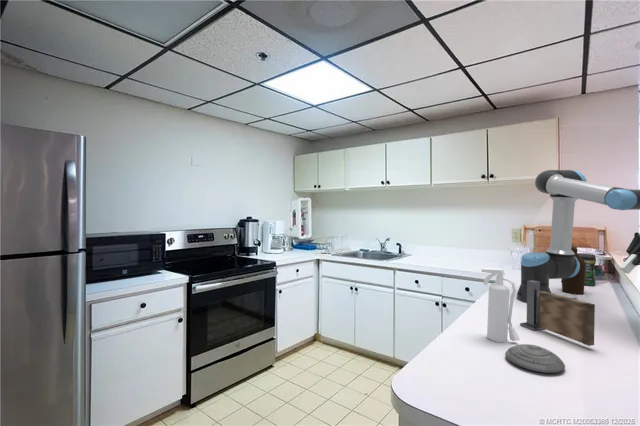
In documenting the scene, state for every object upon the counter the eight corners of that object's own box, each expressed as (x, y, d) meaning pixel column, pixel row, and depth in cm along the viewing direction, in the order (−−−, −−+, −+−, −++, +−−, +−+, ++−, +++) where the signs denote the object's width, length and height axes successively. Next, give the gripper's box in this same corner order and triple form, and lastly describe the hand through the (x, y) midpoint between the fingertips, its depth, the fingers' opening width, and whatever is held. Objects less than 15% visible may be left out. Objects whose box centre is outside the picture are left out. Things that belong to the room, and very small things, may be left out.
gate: (535, 325, 124) (535, 290, 124) (539, 324, 125) (540, 290, 124) (589, 345, 106) (589, 305, 106) (594, 344, 107) (594, 304, 106)
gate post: (520, 325, 128) (520, 280, 128) (531, 323, 130) (532, 279, 129) (534, 331, 122) (534, 283, 122) (546, 329, 124) (546, 282, 124)
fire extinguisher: (515, 347, 108) (516, 273, 108) (478, 337, 117) (479, 268, 117) (522, 342, 113) (523, 270, 112) (486, 332, 122) (486, 265, 121)
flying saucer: (509, 348, 108) (510, 332, 108) (566, 362, 99) (566, 344, 99) (500, 365, 97) (500, 347, 97) (563, 383, 87) (563, 363, 87)
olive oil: (590, 294, 172) (591, 247, 172) (573, 295, 170) (574, 248, 170) (572, 289, 183) (572, 245, 182) (555, 290, 181) (556, 245, 180)
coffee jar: (573, 284, 194) (574, 253, 194) (575, 282, 200) (576, 252, 200) (595, 287, 188) (595, 255, 187) (596, 284, 193) (596, 253, 193)
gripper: (700, 230, 106) (651, 282, 105) (656, 228, 119) (613, 274, 118) (685, 214, 106) (636, 266, 105) (643, 213, 119) (599, 260, 118)
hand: (624, 270), depth 112 cm, fingers closed
